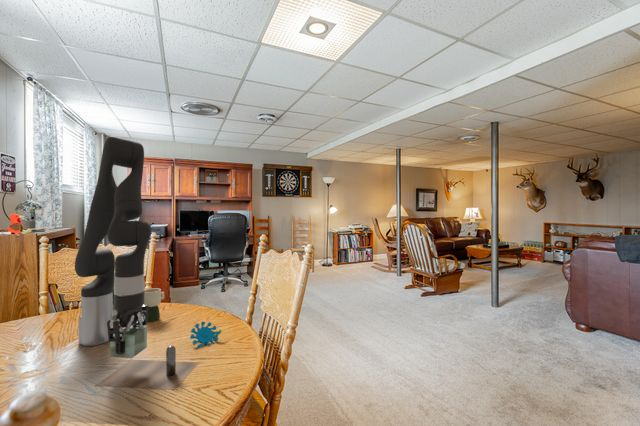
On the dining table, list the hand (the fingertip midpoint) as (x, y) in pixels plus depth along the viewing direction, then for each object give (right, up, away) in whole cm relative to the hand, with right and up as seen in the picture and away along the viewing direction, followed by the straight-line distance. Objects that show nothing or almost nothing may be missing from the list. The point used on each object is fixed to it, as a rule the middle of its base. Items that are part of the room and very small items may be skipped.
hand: (129, 347), depth 88 cm
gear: (+14, -8, +21) cm, 27 cm away
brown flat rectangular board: (+6, -9, 0) cm, 11 cm away
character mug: (-18, -8, +44) cm, 48 cm away
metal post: (+12, -7, -1) cm, 14 cm away
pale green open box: (0, -1, 0) cm, 1 cm away
